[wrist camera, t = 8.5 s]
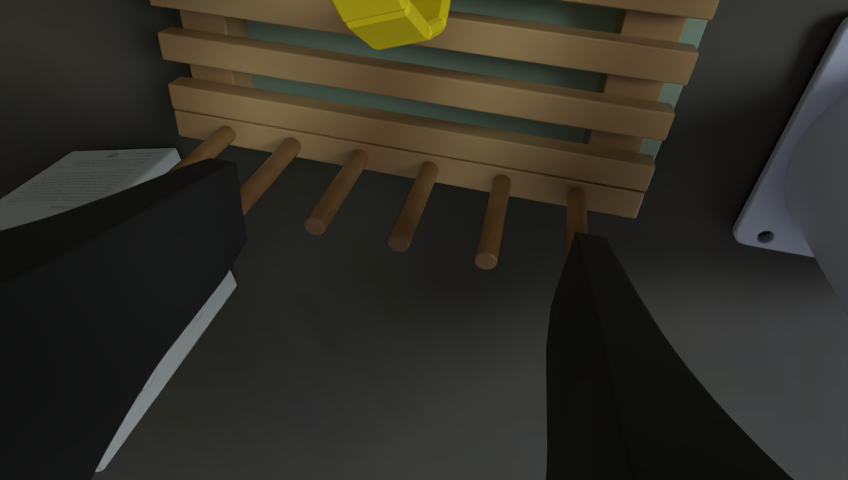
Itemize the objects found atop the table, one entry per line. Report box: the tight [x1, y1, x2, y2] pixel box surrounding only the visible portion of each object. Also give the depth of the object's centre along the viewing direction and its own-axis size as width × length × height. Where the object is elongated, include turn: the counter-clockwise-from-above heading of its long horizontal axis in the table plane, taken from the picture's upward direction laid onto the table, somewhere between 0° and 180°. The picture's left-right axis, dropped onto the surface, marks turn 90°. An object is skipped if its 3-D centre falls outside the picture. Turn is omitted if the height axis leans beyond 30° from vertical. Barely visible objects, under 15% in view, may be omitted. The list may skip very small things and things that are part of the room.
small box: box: [0, 148, 237, 472], centre depth 22 cm, size 8×6×10 cm
